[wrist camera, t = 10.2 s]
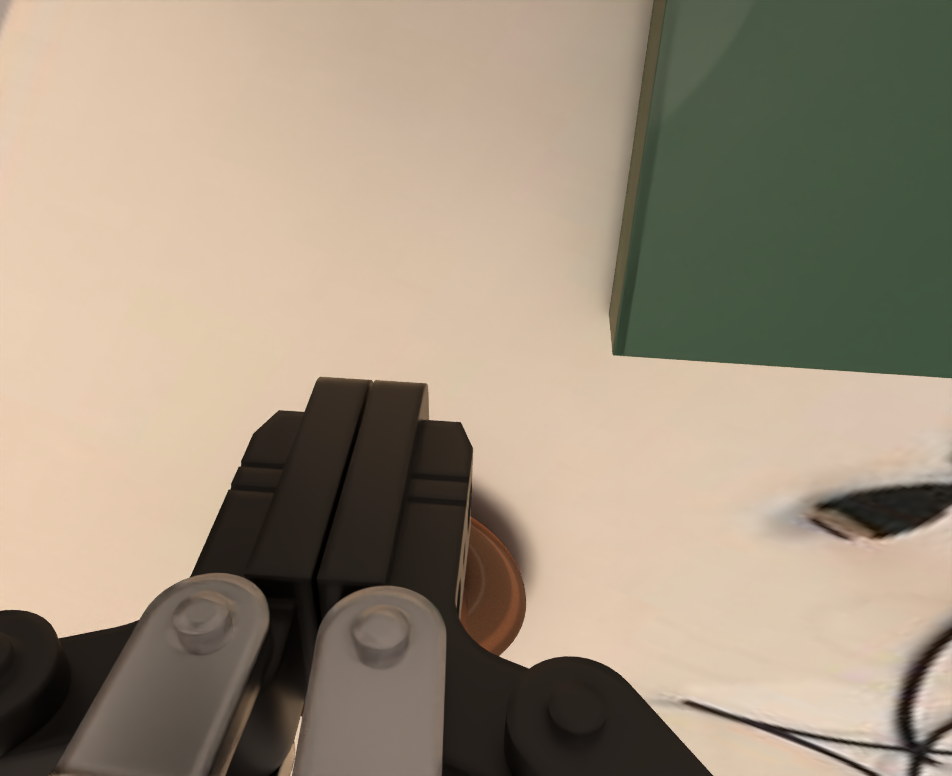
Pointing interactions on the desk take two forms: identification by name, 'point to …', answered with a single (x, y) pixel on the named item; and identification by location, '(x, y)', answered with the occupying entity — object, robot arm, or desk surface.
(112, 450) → the desk surface
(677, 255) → the book
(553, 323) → the desk surface
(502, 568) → the cup and saucer
